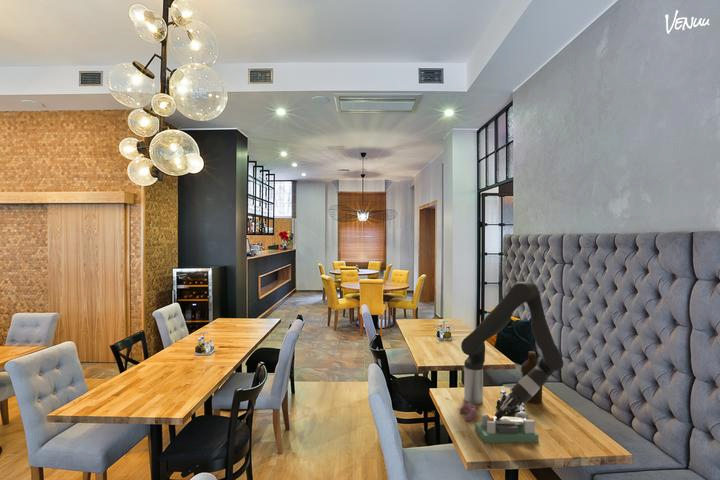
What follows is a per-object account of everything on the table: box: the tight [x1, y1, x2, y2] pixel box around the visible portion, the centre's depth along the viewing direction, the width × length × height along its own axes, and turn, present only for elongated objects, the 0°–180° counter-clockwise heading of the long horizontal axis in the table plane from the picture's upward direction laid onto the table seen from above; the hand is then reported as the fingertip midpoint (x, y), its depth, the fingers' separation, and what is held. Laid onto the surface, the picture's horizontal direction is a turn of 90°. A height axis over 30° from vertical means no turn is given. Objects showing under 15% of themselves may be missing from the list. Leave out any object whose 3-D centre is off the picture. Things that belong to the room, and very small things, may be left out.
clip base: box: [474, 411, 539, 444], centre depth 157 cm, size 11×22×8 cm, turn 92°
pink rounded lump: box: [459, 402, 478, 422], centre depth 173 cm, size 10×5×7 cm, turn 1°
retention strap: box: [485, 413, 527, 425], centre depth 157 cm, size 5×17×2 cm, turn 92°
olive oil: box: [520, 350, 543, 404], centre depth 192 cm, size 11×11×25 cm
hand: (496, 417), depth 156 cm, fingers closed
